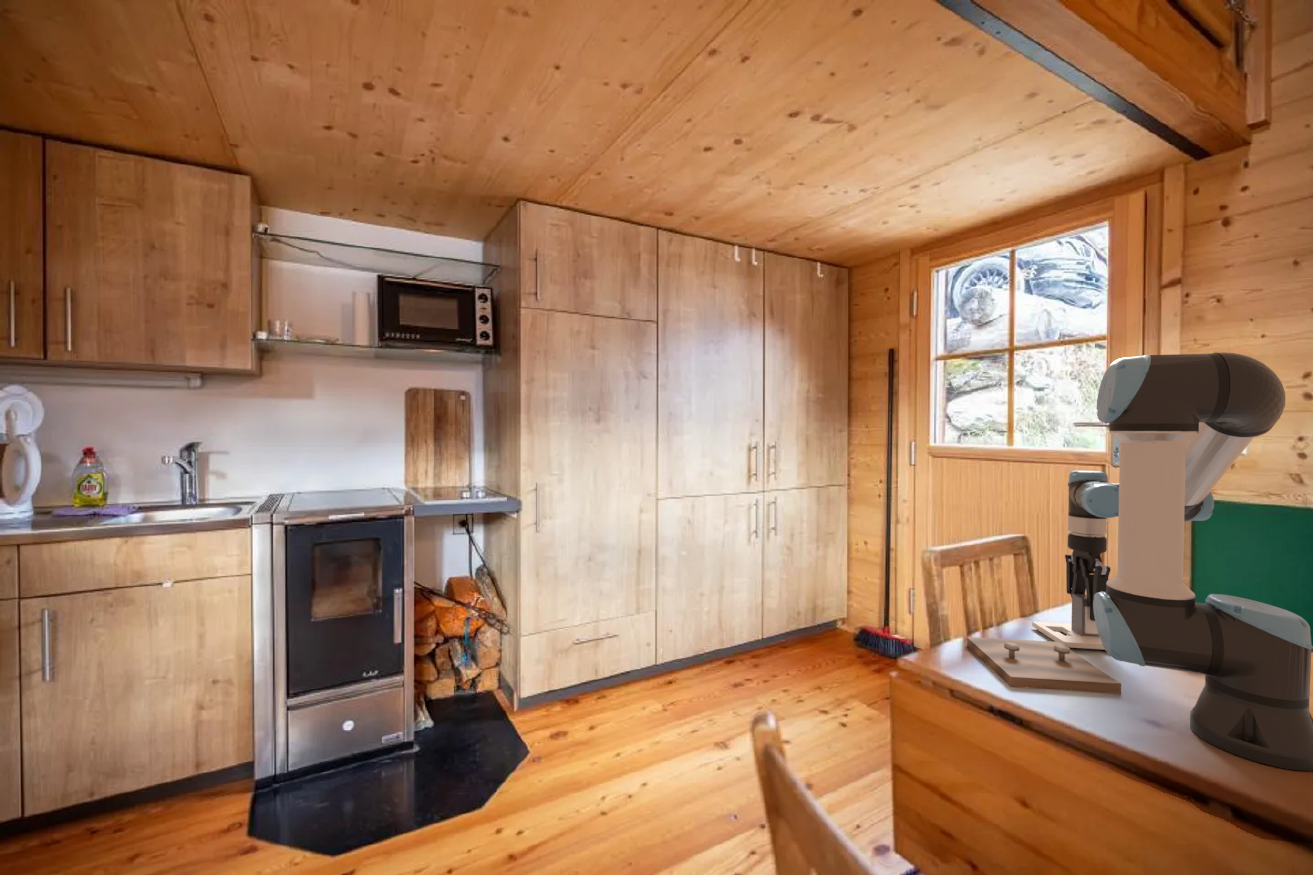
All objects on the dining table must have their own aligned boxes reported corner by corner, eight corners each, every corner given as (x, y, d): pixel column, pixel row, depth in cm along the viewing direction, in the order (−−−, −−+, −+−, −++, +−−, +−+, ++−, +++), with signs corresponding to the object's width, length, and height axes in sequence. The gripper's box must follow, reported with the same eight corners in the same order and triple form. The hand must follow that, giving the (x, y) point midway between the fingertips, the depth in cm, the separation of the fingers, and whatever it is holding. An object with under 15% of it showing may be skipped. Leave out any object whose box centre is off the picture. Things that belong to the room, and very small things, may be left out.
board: (1121, 693, 108) (1121, 670, 107) (1010, 686, 110) (1011, 663, 110) (1058, 650, 128) (1058, 630, 128) (966, 645, 131) (967, 626, 131)
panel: (1145, 651, 126) (1146, 607, 126) (1064, 647, 128) (1065, 603, 128) (1104, 629, 140) (1105, 590, 140) (1032, 626, 142) (1032, 586, 142)
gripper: (1129, 541, 125) (1127, 643, 125) (1081, 528, 142) (1080, 618, 142) (1092, 540, 126) (1091, 641, 126) (1050, 527, 143) (1048, 617, 143)
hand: (1085, 629), depth 134 cm, fingers closed on panel, 4 cm apart
